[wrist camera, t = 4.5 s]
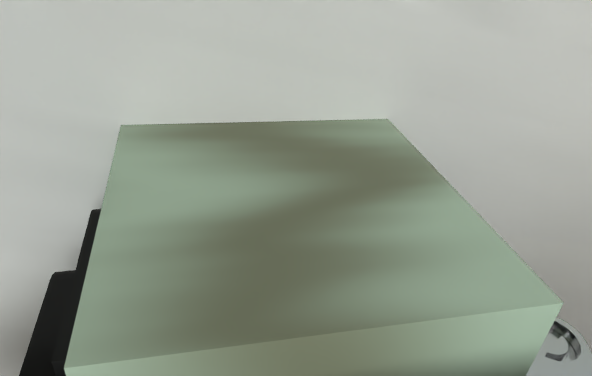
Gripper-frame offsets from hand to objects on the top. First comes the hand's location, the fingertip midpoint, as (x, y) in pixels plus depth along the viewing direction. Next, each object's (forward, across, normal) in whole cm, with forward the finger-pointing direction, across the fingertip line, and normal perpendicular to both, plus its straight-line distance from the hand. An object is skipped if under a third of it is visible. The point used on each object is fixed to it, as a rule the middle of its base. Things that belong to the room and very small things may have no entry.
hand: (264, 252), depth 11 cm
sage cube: (+1, 0, 0) cm, 1 cm away
